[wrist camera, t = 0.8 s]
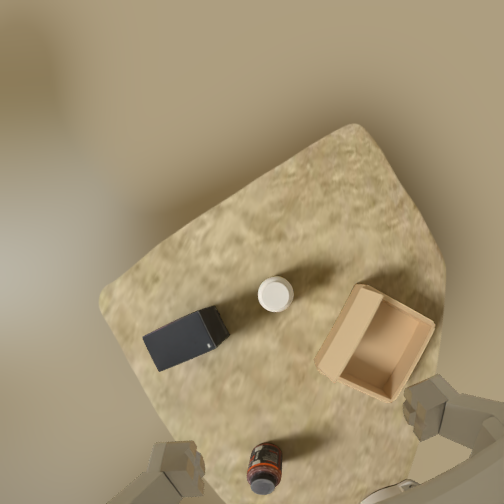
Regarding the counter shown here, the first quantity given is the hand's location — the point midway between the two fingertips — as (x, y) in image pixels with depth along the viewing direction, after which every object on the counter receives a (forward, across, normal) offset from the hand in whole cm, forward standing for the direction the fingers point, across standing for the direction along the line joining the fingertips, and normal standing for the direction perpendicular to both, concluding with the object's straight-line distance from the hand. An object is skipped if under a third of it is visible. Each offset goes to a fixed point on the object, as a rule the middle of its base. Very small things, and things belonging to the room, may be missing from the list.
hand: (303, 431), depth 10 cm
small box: (+42, -13, -14) cm, 46 cm away
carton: (+37, +17, -22) cm, 46 cm away
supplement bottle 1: (+42, +2, -10) cm, 43 cm away
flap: (+30, +11, -15) cm, 35 cm away
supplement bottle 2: (+33, -6, -40) cm, 52 cm away
